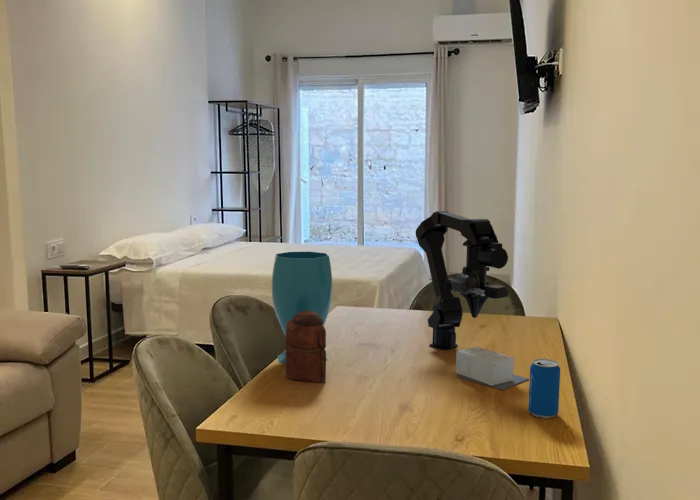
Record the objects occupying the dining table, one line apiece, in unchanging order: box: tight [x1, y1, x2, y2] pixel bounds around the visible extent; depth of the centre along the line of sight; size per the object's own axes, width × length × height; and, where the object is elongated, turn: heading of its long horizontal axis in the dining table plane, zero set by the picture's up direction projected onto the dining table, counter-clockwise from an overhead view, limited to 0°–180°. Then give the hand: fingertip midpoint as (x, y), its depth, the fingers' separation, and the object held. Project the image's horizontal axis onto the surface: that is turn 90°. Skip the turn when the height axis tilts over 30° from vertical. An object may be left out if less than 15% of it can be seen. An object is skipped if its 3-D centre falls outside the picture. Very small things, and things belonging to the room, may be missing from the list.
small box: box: [455, 346, 515, 386], centre depth 171 cm, size 8×6×13 cm
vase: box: [271, 251, 333, 365], centre depth 187 cm, size 17×17×30 cm
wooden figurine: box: [284, 311, 327, 384], centre depth 169 cm, size 12×6×18 cm, turn 73°
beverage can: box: [527, 358, 561, 419], centre depth 146 cm, size 6×6×12 cm
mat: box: [457, 374, 530, 391], centre depth 172 cm, size 14×12×1 cm
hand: (474, 317), depth 187 cm, fingers closed
